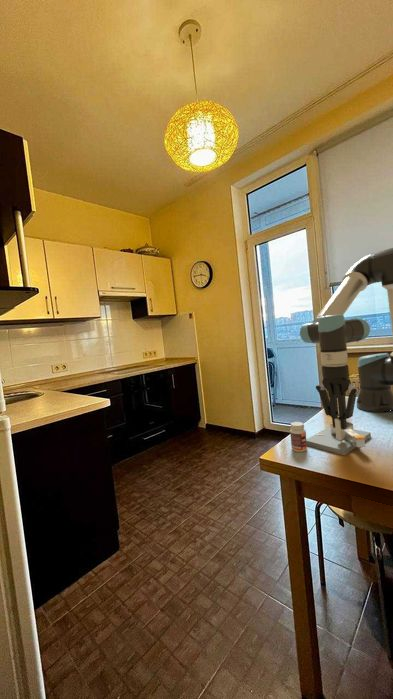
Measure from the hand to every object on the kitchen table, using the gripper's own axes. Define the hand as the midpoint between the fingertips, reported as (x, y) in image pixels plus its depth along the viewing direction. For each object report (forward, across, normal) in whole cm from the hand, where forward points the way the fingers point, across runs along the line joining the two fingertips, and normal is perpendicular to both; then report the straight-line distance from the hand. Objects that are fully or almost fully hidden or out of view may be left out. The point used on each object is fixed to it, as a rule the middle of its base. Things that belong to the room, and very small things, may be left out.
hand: (340, 438), depth 91 cm
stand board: (+3, -3, +4) cm, 6 cm away
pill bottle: (+3, -9, -9) cm, 13 cm away
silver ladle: (+1, +1, +4) cm, 4 cm away
